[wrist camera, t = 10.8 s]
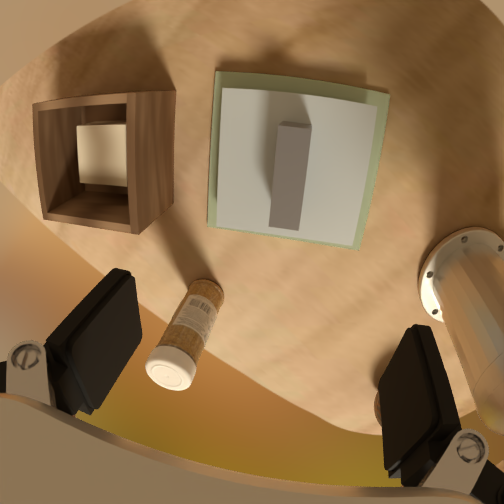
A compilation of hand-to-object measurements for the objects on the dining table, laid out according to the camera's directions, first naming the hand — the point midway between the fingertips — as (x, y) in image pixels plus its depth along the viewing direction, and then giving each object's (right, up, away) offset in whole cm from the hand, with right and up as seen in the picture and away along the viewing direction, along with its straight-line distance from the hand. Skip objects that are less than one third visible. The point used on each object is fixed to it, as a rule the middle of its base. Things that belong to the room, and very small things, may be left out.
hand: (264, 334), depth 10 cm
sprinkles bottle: (-6, -2, +28) cm, 29 cm away
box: (-14, +14, +21) cm, 29 cm away
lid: (+3, +11, +19) cm, 22 cm away
